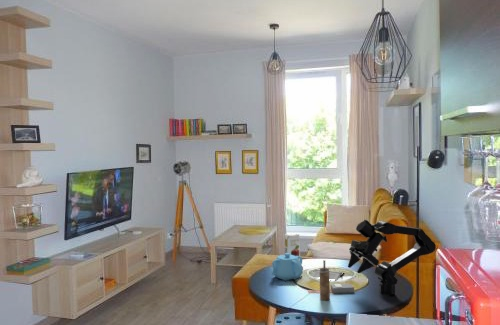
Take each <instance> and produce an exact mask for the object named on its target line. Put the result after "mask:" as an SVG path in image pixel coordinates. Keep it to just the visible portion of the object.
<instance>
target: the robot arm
mask: <svg viewBox="0 0 500 325" xmlns="http://www.w3.org/2000/svg"><path fill="white" fill-rule="evenodd" d="M355 230H356V231H357V232H358V233H359V234H360V235H361V236H362V237H364V238H365V239H366V238H367V240H363V241H362V240H360V241H359V240H356V239H355V240H354V239H352V240H351V244H350V247H349V253H350V259H349V262H348V265H347V267H348V268H349V269H351V268H352V267H353V266H354V265H355V264H357V263H358V262H359V261H361V258H362V263H361V264H360V266H359V268H358V269H357V271H356V272H357V273H358V274H361V273H363V272H364V271H365V272H366V271H367V270H368V269H371V268H374V267H375V266H376V267H375V269H374V274H375V275H376V277H377V279H378V280H379V284H378V292H379V293H380V294H386V295H388V296H389V297H397V294H396V285H397V283H398V281H399V280H398V278H396V277H395V276H396V274H397V272H398V271H399V270H401V269H402V268H404V267H406V266H407V265H408V264H410V263H412V262H413V261H415V260H417V259H418V258H419V257H422V256H425V255H426V256H428V255H430V254H433V253H434V252H435V251H436V248H437V246H436V243H435V242H434V241H433V240H432V239H431V237H429V235H428V234H427V233H426V232H425V231H424V229H423V228H420V227H415V226H414V227H413V226H406V225H405V226H404V225H399V224H398V225H397V224H393V223H391V222H388V221H384V220H378V222H376V223H374V224H372V223H370V221H369V220H367V219H364V220H363V221H361V222H360V223H358V224H357V225H356V227H355ZM382 234H384V235H382ZM394 234H399V235H400V234H401V235H407V236H413V238H414V241H415V244H414V245H413V247H412V248H411V249H409V250H408V251H407V252H405V253H403V254H401V255H400V256H398V257H397V258H395V259H394V260H392V261H391V262H387V261H385V260H384V261H382V262H381V263H380V262H379V259H378V258H377V257H375V255H373V254H374V253H375V252H378V249H377V248H378V247H379V246H380V245H381V244H382V241H383V242H385V243H388V239H387V236H386V235H394Z"/></svg>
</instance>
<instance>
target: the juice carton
mask: <svg viewBox="0 0 500 325" xmlns="http://www.w3.org/2000/svg"><path fill="white" fill-rule="evenodd" d="M300 237H301V236H300V234H299V233H297V232H291V233H290V232H289V233H284V238H283V240H284V241H283V242H284V254H285V253H290V255H294V256H300V257H301V245H300V244H301V243H300V242H301V241H300V239H301V238H300ZM298 259H299V261H300V258H298Z"/></svg>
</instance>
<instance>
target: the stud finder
mask: <svg viewBox="0 0 500 325" xmlns="http://www.w3.org/2000/svg"><path fill="white" fill-rule="evenodd" d="M330 290H332V291H333V293H332V294H347V293H351V294H352V293H355V287H354V285H353V284H351V283H347V282H346V283H330Z"/></svg>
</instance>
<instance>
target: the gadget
mask: <svg viewBox="0 0 500 325" xmlns="http://www.w3.org/2000/svg"><path fill="white" fill-rule="evenodd" d="M319 269H320V268H315V269H314V270H313V272H312V273H311V275H310V276H313V277H320V270H319ZM339 271H340V270H338V271H329V279H335V280H337V281H338V280H339V279H340V278H339V277H341V276H342V272H339ZM338 278H339V279H338ZM308 279H310V277H309V278H308Z"/></svg>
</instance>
